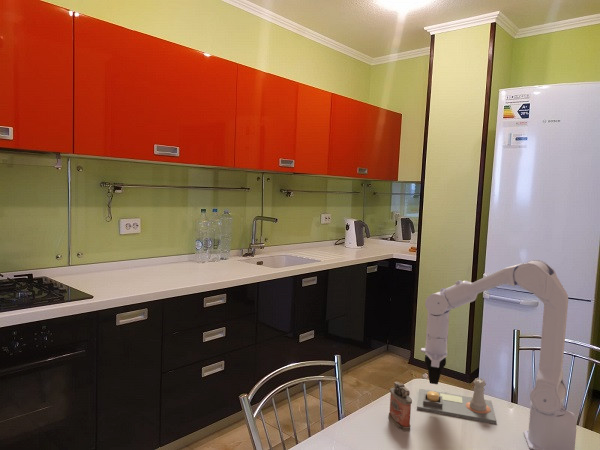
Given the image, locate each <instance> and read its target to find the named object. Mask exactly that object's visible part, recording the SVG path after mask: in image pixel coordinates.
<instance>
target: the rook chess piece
mask: <svg viewBox="0 0 600 450" xmlns="http://www.w3.org/2000/svg"><path fill="white" fill-rule="evenodd" d="M472 383H473V384H474V386H473V395H472V396H471V397H472V399H471V400H470V404H469V405H470V407H471V408H472V409H473V410H476V411H485V410H486V409H487V408H486V406H487V405H486V402H485V400H486V399H485V391H486V389H485V386H487V383H486V382H485V379H484V378H482V377H481V378H480V377H477V378H474V380H473V382H472Z"/></svg>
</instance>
